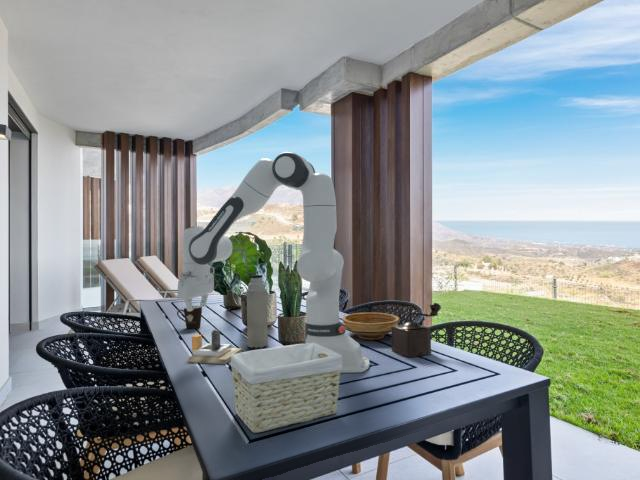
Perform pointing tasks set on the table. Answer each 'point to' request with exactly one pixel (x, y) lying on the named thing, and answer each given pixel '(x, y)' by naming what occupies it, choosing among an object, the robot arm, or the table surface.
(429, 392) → the table surface
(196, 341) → the white holder stand
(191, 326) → the coffee mug
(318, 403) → the storage basket
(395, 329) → the manual coffee grinder
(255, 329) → the thermos bottle
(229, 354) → the post
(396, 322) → the ceramic bowl
